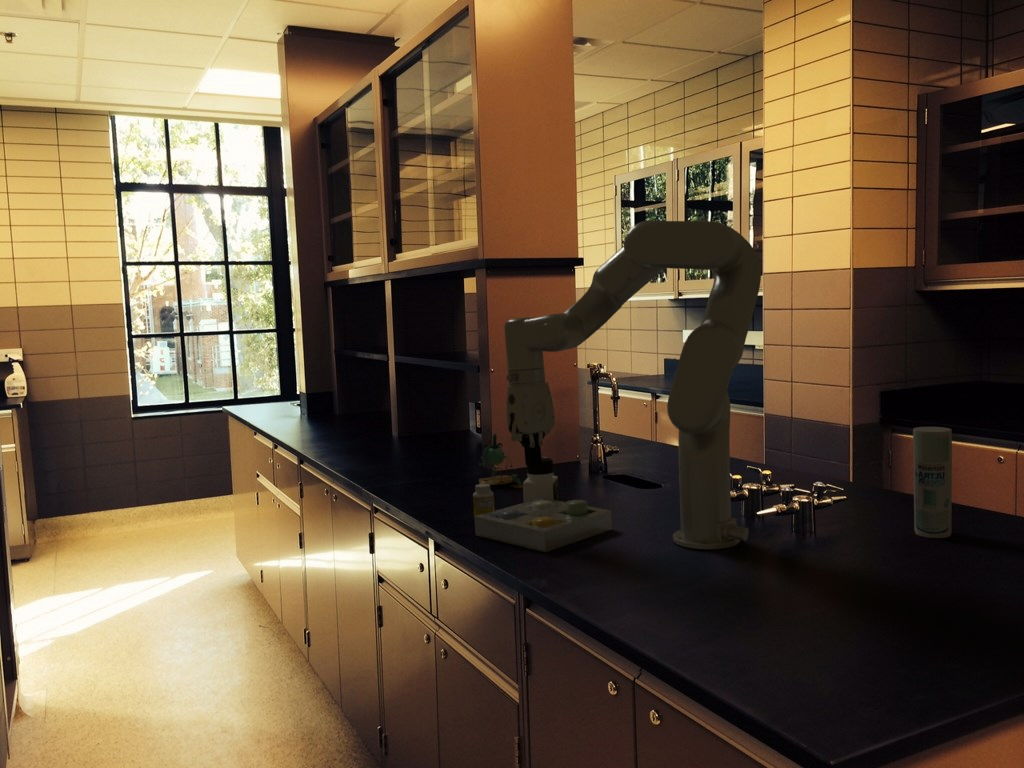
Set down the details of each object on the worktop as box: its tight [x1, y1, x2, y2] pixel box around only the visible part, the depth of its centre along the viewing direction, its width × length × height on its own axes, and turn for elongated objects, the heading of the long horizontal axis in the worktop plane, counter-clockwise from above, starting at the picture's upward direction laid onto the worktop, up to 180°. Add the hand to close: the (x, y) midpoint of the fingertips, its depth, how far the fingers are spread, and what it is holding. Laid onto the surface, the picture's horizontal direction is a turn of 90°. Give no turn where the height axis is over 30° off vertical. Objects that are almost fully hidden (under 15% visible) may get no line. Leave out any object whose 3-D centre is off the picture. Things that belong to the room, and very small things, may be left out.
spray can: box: [912, 426, 953, 539], centre depth 155 cm, size 6×6×20 cm
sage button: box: [565, 499, 588, 517], centre depth 170 cm, size 4×4×4 cm
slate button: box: [498, 510, 519, 520], centre depth 171 cm, size 4×4×4 cm
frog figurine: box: [478, 433, 523, 489], centre depth 220 cm, size 10×18×15 cm, turn 30°
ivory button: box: [532, 501, 552, 510], centre depth 177 cm, size 4×4×4 cm
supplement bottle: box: [472, 483, 496, 522], centre depth 180 cm, size 5×5×8 cm
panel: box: [473, 498, 613, 553], centre depth 170 cm, size 20×20×4 cm
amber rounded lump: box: [532, 517, 555, 528], centre depth 163 cm, size 4×4×4 cm
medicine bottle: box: [522, 456, 560, 503], centre depth 190 cm, size 7×7×12 cm
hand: (533, 465), depth 171 cm, fingers closed
